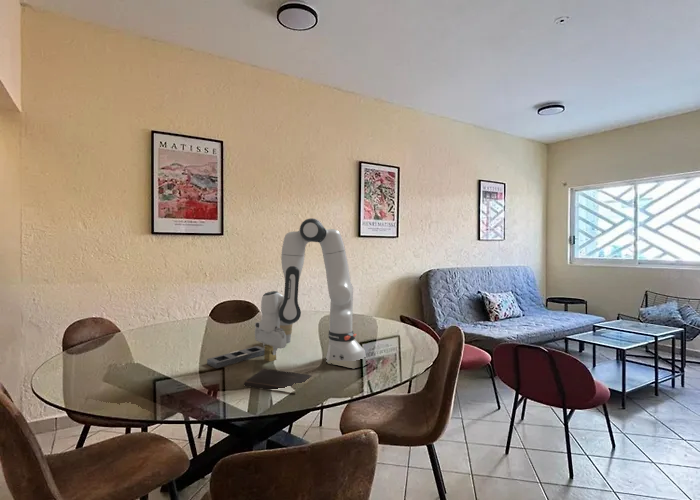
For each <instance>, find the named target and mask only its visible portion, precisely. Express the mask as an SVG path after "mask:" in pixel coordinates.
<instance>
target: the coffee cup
mask: <svg viewBox="0 0 700 500" xmlns="http://www.w3.org/2000/svg"><path fill="white" fill-rule="evenodd" d="M280 328H282V329H283V330H284V332H285V335H286V344H289V343H290V342H291V339H292V333H293V324H286V323H284V322H282V321H281V320H280Z"/></svg>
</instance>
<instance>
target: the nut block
mask: <svg viewBox="0 0 700 500" xmlns="http://www.w3.org/2000/svg"><path fill="white" fill-rule="evenodd" d="M263 348H264V355H263V356H264V357H263V359H264V361H267V362H268V363H270V362H274V361H277V354H276V355H272V351H273V349H274V348H273V346H271V345H265V346H263Z"/></svg>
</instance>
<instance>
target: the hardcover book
mask: <svg viewBox="0 0 700 500" xmlns="http://www.w3.org/2000/svg"><path fill="white" fill-rule="evenodd" d="M312 376H313V374H308V373H307V374H305V373H299V372H292V371H282V370H275V369H269V368H263V369H261V370H260V371H258V372H257V373H255V374H254V375H252V376H250V377H248V379H247V380H245V381H244V382H243V386H244V385H245V386H251V387H250V388H252V387H254V388H253V389H259V388H263V389H262V390H265V389H278V388H285V387H287V386H292V385H293V384H294V383H295V384H296V383H302V382H305V381H306V380H307V379H309V378H310V377H311V378H312ZM245 386H244V387H245Z"/></svg>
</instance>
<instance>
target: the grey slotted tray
mask: <svg viewBox="0 0 700 500" xmlns="http://www.w3.org/2000/svg"><path fill="white" fill-rule="evenodd" d="M261 356H264V347H263V346H259V345H254V346H251V347H248V348H244V349H240V350H238V349H237V350H234V351H231V352H229V353H225V354H221V355H220V354H219V355H218V356H214V357H213V356H212V357H210V358H207V359H206V361H207V362H206V364H207V365H208V366H210V367H212V368H215V369H220V368H222V367H227V366H230V365H233V364H237V363H240V361H241V362H244V361H248V360H251V359H254V358H258V357H261ZM243 360H244V361H243Z"/></svg>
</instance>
